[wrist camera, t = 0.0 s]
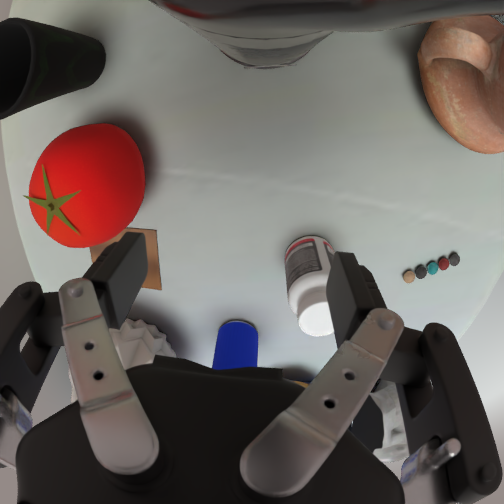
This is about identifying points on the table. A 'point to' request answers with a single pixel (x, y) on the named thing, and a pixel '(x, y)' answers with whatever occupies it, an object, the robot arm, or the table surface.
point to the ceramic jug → (466, 80)
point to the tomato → (87, 185)
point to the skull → (382, 424)
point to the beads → (431, 268)
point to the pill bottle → (309, 283)
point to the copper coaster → (152, 255)
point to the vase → (136, 345)
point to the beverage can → (236, 346)
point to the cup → (43, 63)
